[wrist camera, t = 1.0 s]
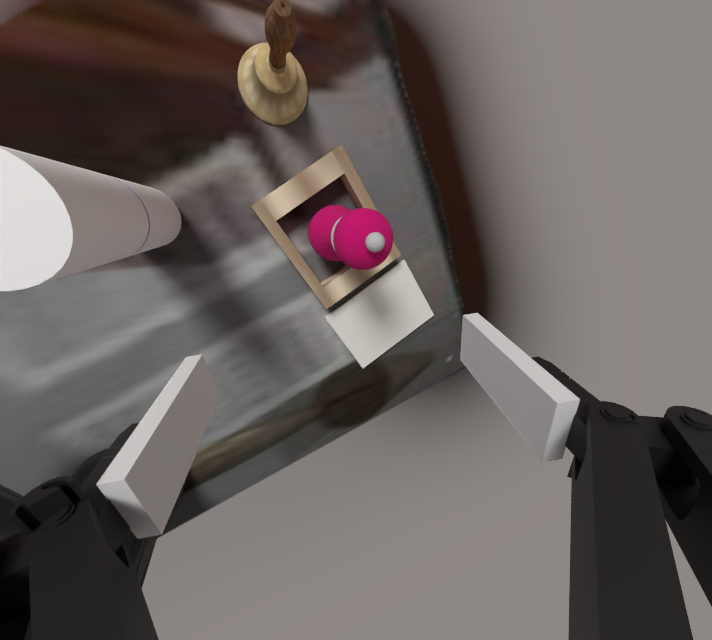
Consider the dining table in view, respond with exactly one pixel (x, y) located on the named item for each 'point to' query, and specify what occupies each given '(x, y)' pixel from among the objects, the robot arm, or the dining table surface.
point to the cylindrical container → (73, 219)
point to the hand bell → (274, 70)
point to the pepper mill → (351, 236)
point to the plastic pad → (381, 314)
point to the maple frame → (300, 191)
